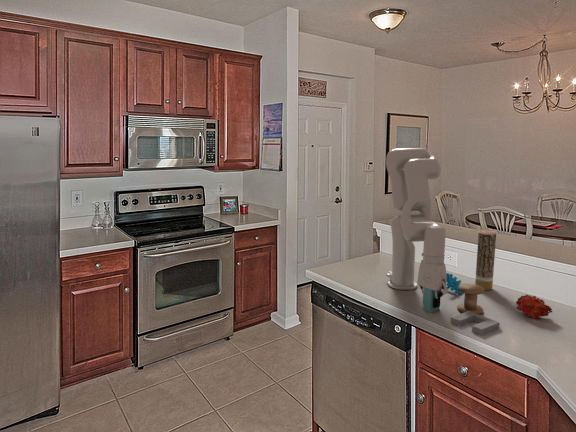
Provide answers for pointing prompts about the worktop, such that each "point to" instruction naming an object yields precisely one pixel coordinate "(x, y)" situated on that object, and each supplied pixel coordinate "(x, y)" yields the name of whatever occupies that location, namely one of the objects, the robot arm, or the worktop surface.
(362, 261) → the worktop surface
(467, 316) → the notched board
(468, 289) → the door knob
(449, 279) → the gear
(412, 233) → the robot arm
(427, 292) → the teal tab
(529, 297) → the dragon fruit
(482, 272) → the paper tube
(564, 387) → the worktop surface
